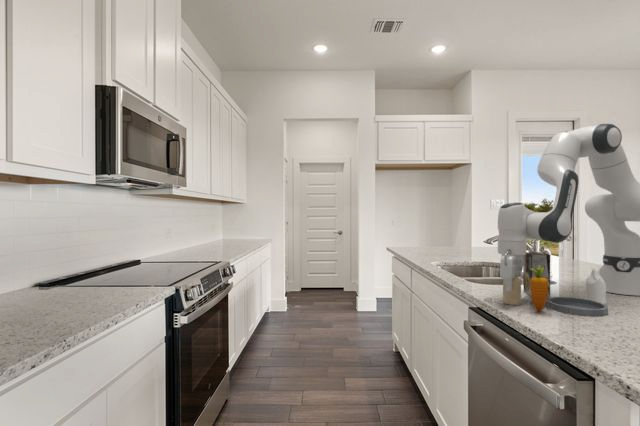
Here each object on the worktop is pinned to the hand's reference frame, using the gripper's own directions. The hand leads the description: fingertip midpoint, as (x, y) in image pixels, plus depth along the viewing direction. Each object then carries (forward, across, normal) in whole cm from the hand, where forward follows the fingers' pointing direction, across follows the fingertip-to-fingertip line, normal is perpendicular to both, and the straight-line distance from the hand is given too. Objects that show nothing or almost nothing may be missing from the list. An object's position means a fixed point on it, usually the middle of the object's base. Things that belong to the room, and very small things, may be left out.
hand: (511, 288), depth 121 cm
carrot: (+6, -7, -9) cm, 13 cm away
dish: (+5, +5, -18) cm, 19 cm away
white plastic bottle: (+6, +19, -23) cm, 30 cm away
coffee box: (+6, +19, -5) cm, 21 cm away
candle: (+6, 0, 0) cm, 6 cm away
